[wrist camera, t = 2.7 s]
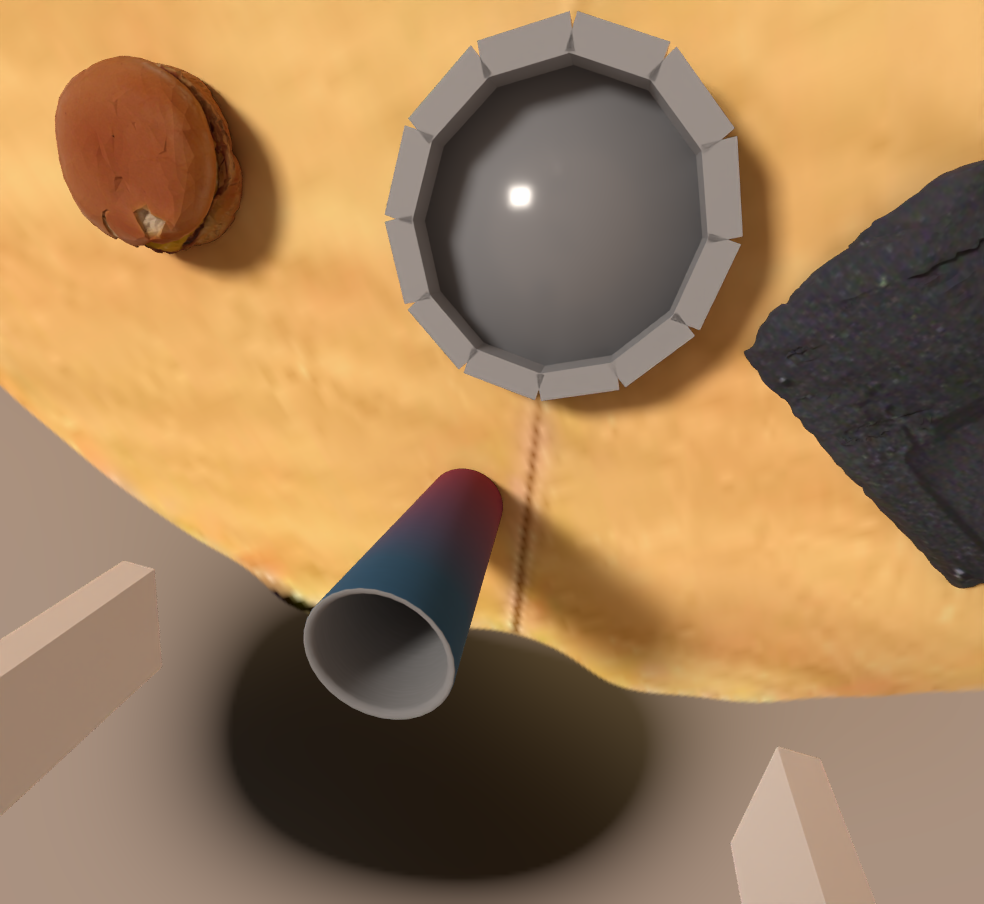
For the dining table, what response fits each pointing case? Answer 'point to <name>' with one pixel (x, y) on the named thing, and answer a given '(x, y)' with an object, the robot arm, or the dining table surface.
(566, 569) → the dining table surface
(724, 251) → the tray
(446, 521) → the cup
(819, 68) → the dining table surface
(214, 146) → the burger
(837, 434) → the dark slate chunk
